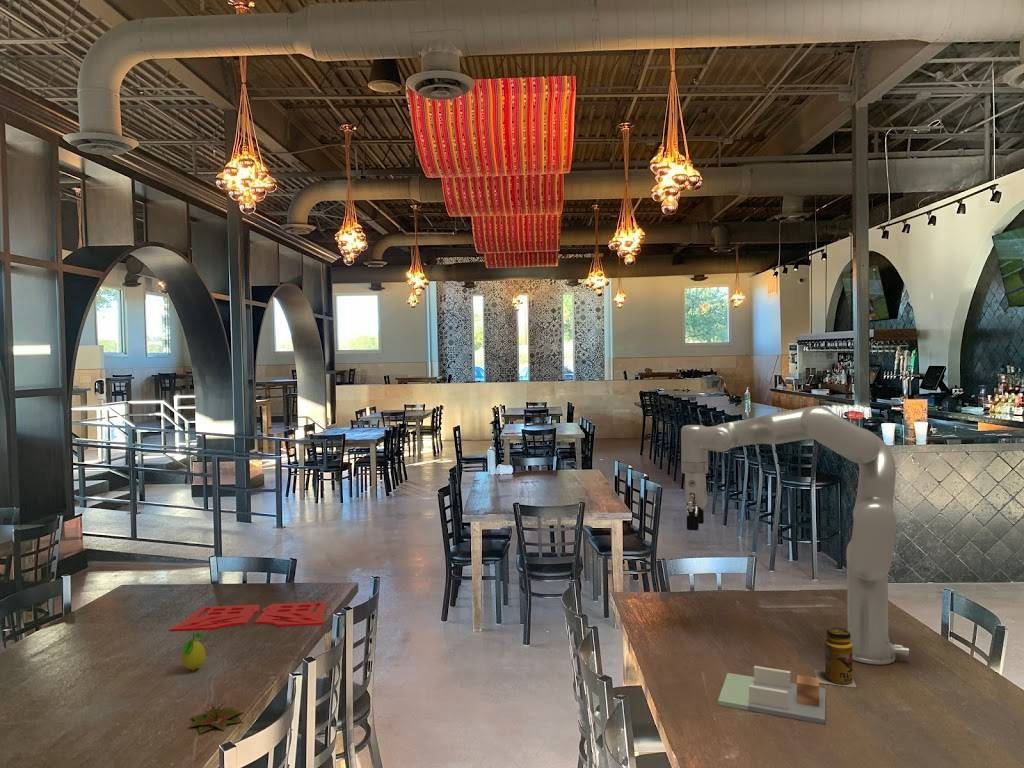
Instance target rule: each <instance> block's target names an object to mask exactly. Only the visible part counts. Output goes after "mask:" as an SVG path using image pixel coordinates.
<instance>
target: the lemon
mask: <svg viewBox="0 0 1024 768" xmlns="http://www.w3.org/2000/svg"><path fill="white" fill-rule="evenodd" d="M195 637H196V638H198V639H199V640H203V639H204V637H203V634H202V632H201V631H198V632H196V633H195V631H193V632H192V639H191V640H188V641H187V642H186V643H185V645H184V648H183V650H182V654H181V661H182V664H183V666H184V668H186V669H189V670H191V671H192V672H194V671H195V670H196V669H198V668H200V667H201V666H202V665H204V663H205V660H206V649H205V647H204V645H203V643H201V641H198V640H195Z"/></svg>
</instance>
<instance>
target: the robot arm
mask: <svg viewBox="0 0 1024 768" xmlns="http://www.w3.org/2000/svg"><path fill="white" fill-rule="evenodd" d="M810 439H813V440H815V441H816V442H818V443H819V444H821V445H823V446H824V447H826V448H828V449H830V450H831V451H834V452H835V453H837V454H838V455H840V456H841V457H843V458H845V459H847V460H848V461H851V462H853V463H856V464H857V465H858V468H859V469H858V470H859V474H858V482H857V483H858V485H857V492H856V496H855V497H856V498H855V503H854V507H853V511H852V517H853V524H852V525H853V526H852V534H851V539H850V541H849V543H848V544H847V547H846V550H845V551H846V554H845V558H846V577H847V578H846V580H847V582H846V583H847V586H846V587H847V598H846V599H847V601H846V602H847V631H849V632H850V635H851V636H850V639H851V641H850V642H851V644H852V660H853V661H856V662H859V663H863V664H867V665H888V664H892V663H894V662H895V661H896V654H897V655H901V656H910V649H909V647H905V646H903V644H898V643H896V644H895V643H893V642H890V637H889V583H888V582H889V580H888V578H889V577H888V573H889V572H890V570H891V566H892V562H893V555H894V547H895V541H896V534H897V516H896V513H895V511H894V508H893V507H894V498H895V490H896V489H895V487H896V476H897V475H896V474H897V473H896V471H897V468H896V462H895V458H894V455H893V453H892V451H891V450H890V448H889V446H888V444H886V442H885V441H884V440H883V439H882V438H880V437H879V436H878V435H877V434H875V433H874V432H872V431H870V430H869V429H868V428H867V429H866V428H862V427H861V426H858V425H856V424H854V423H852V422H851V421H849V420H846V419H845V418H843V417H841V416H839V415H838V414H836V413H835V412H834V411H832V410H831V409H830V408H829V407H827V406H824V405H814V406H807V407H802V408H797V409H796V408H795V409H791V410H785V411H779V412H772V413H768V414H764V415H761V416H757V417H752V418H751V417H750V418H746V419H742V420H741V419H740V420H735V421H730V422H724V423H720V424H716V425H713V426H705V425H702V424H687V425H683V426H682V428H681V429H680V448H681V451H680V454H681V459H680V462H681V463H680V464H681V465H680V466H681V474H684V475H685V476H684V481H685V482H684V494H685V495H684V500H685V502H684V503H685V504H684V505H685V507H686V508H687V511H686V529H687V530H688V531H699V529H700V528H699V527H700V525H703V524H704V523H705V522H704V521H705V518H704V516H705V515H704V507H706V505H707V503H708V496H707V479H706V478H707V477H706V475H707V474H708V473H709V451H711V452H716V453H719V452H720V453H723V452H726V451H729V450H730V449H732V448H737V447H738V448H739V447H745V446H750V445H760V444H765V445H779V444H785V443H791V442H797V441H798V442H799V441H802V440H803V441H804V440H810ZM699 524H700V525H699Z"/></svg>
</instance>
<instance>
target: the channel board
mask: <svg viewBox="0 0 1024 768" xmlns="http://www.w3.org/2000/svg"><path fill="white" fill-rule="evenodd" d="M826 692H827V689H826V688H823V687H819V707H817V706H812V705H806V704H800V703H797V683H792V682H791V670H785V669H784V670H783V669H777V668H771V667H764V666H758V665H754V667H753V676H751V675H744V674H736V673H733V672H732V673H730V672H727V673H726V676H725V680H724V681H723V685H722V688H721V691H720V693H719V696H718V699H717V706H723V707H727V708H732V709H733V708H734V709H737V710H743V711H750V712H755V713H760V714H761V713H762V714H765V715H766V714H767V715H772V716H777V717H782V718H788V719H794V720H798V721H799V720H800V721H804V722H805V721H806V722H810V723H817V724H822V725H826Z"/></svg>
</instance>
